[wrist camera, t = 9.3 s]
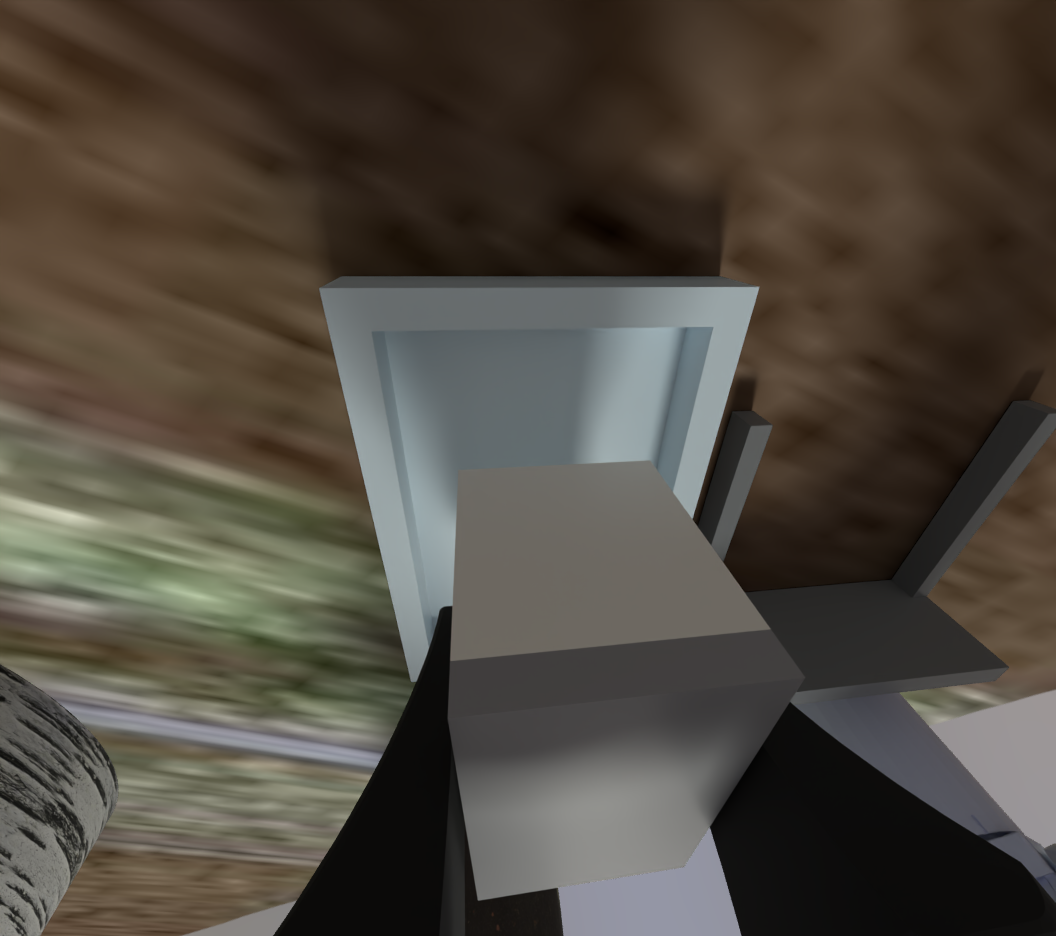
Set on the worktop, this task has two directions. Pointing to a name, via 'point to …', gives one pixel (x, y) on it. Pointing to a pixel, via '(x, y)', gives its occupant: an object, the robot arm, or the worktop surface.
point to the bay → (889, 605)
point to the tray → (520, 395)
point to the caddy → (597, 675)
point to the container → (510, 910)
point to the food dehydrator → (45, 802)
